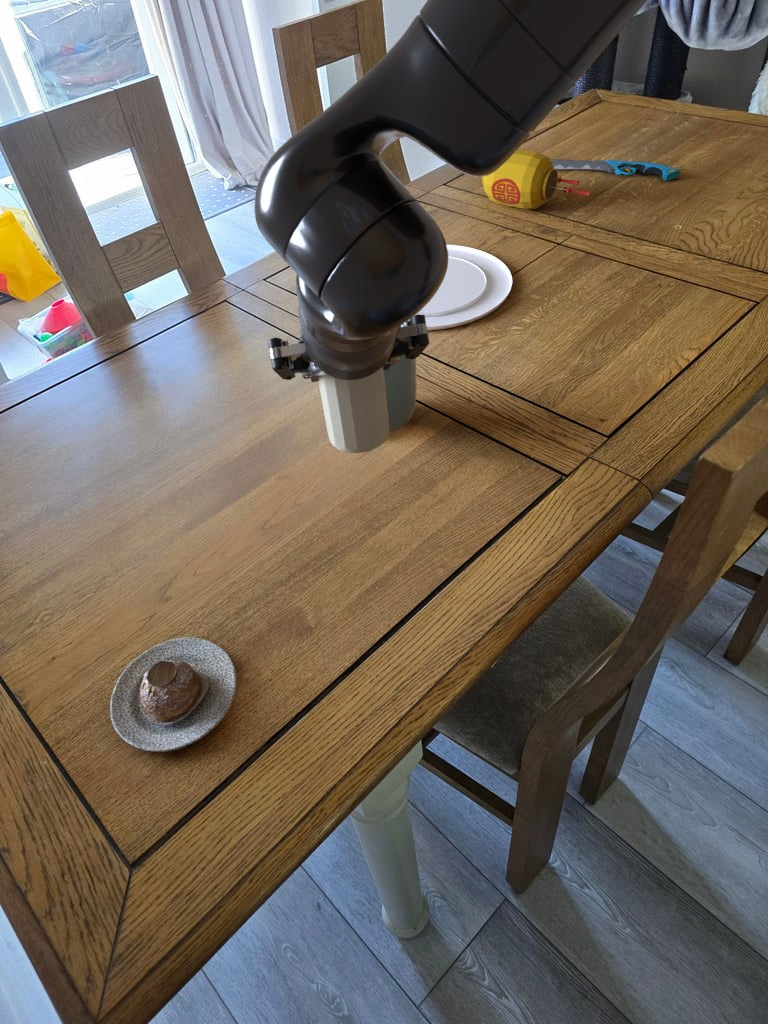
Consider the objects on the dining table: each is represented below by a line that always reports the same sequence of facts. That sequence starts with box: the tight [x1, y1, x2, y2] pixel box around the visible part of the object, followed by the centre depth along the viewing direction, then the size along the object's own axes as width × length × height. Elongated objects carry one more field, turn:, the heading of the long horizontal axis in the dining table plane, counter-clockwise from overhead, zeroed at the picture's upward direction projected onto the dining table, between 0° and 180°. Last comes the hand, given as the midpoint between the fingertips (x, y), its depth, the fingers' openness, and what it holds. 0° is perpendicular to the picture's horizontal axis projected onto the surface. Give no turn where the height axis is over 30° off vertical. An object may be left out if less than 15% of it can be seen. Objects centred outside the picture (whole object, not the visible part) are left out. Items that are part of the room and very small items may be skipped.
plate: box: [408, 244, 513, 331], centre depth 117 cm, size 28×28×1 cm
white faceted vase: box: [317, 366, 390, 454], centre depth 68 cm, size 6×6×16 cm
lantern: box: [450, 148, 592, 211], centre depth 134 cm, size 10×10×30 cm
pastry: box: [110, 636, 238, 753], centre depth 65 cm, size 12×12×5 cm
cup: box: [384, 324, 418, 434], centre depth 89 cm, size 10×10×13 cm
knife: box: [550, 158, 681, 182], centre depth 146 cm, size 37×5×2 cm, turn 62°
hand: (348, 365), depth 69 cm, fingers closed on white faceted vase, 6 cm apart
